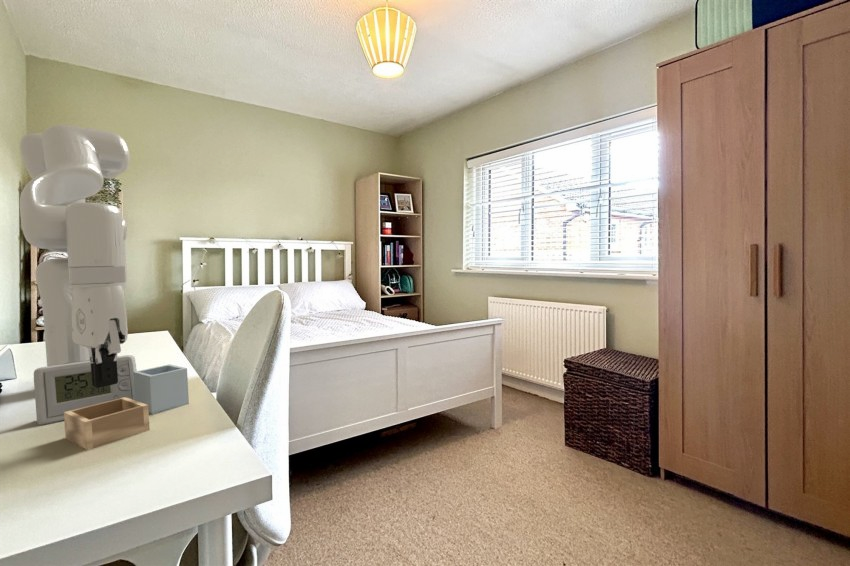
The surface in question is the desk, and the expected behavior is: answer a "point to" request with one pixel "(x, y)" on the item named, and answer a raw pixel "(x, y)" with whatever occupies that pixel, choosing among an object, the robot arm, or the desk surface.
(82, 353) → the robot arm
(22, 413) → the desk surface
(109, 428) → the oak box
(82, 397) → the digital clock
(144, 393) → the light blue pen cup
